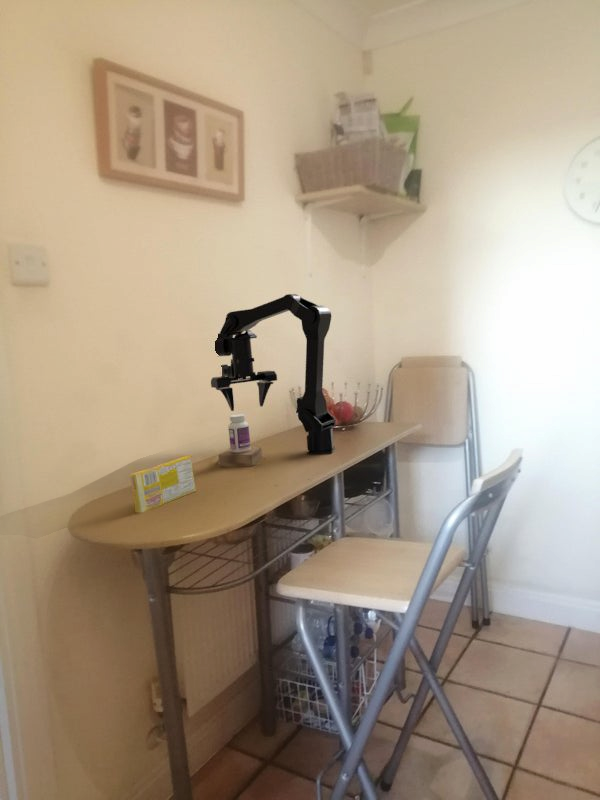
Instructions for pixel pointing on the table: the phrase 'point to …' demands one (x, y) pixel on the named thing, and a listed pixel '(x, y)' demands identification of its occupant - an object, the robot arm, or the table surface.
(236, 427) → the pill bottle
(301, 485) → the table surface
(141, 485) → the candy box
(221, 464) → the tan flat square block
